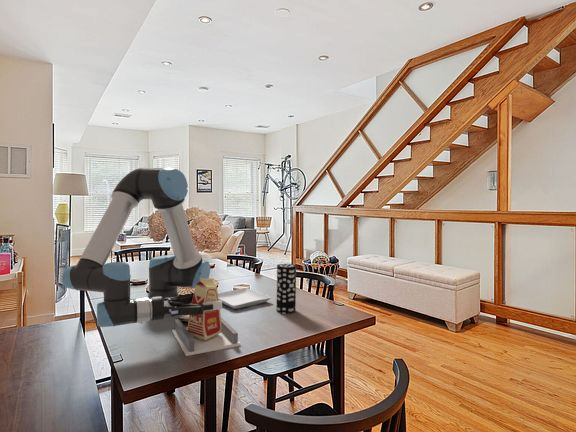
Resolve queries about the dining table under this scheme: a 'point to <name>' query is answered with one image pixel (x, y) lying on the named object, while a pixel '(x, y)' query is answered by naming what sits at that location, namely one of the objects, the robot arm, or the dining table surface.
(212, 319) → the milk carton
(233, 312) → the dining table surface
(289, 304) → the white-spotted black cylinder
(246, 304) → the salad plate
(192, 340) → the rail board
